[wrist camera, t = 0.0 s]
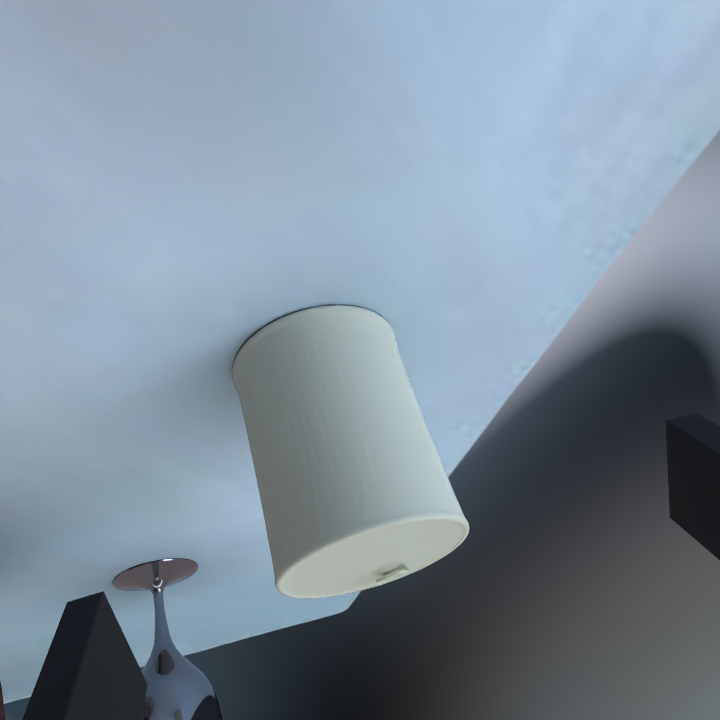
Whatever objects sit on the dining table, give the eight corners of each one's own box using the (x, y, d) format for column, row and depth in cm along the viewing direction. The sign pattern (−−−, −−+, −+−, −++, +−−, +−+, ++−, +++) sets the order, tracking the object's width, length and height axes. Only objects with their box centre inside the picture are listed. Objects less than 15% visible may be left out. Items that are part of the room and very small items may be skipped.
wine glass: (217, 555, 54) (247, 747, 46) (180, 588, 59) (201, 769, 50) (127, 559, 49) (143, 775, 41) (94, 595, 54) (102, 797, 45)
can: (281, 422, 38) (329, 617, 32) (196, 358, 31) (235, 596, 24) (414, 360, 37) (492, 552, 30) (359, 277, 29) (447, 508, 23)
